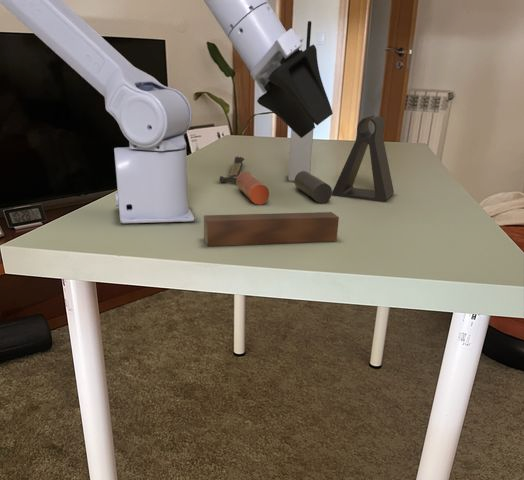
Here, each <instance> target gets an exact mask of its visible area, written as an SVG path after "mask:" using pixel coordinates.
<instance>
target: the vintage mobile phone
mask: <svg viewBox="0 0 524 480" xmlns="http://www.w3.org/2000/svg"><path fill="white" fill-rule="evenodd" d="M311 35H312V21H311V20H308V21H307V28H306V45H305V50H306V49H307V48H308V47H310V46H311V38H312V37H311ZM290 131H291V132H290V143H289V144H290V145H289V146H290V147H289V161H288V182H291V183H295V177H296V175H297V174H298V173H299V172H301V171H306V172H308V173H310V174H311V167H312V165H311V164H312V151H313V140H314V129H313V130H312V131H310V132H309V133H308V134H306V135H305V136H304V137H302V138H301V137H299V136H298V135H297V134H296V133H295V132H294V131H293V130H292V129H291V128H290Z"/></svg>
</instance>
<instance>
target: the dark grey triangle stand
mask: <svg viewBox="0 0 524 480" xmlns="http://www.w3.org/2000/svg"><path fill="white" fill-rule="evenodd" d="M370 121H371V122H372V124H373V125H374V130H373V132H372V131H370V128H369V123H370ZM385 127H386V122H385V119H384V118H383V117H382V116H381V115H378V116H375V115H371V116H367V117H364V118H362V119H361V120H360V121H359V122H358V123H357V127H356V131H357V133H356V138H355V142H354V143H353V146H352V147H351V150H350V152H349V155H348V157H347V159H346V161H345V164H344V166H343V168H342V170H341V172H340V175H339V177H338V179H337V181H336V183H335V185H334V187H333V190H332V196H335V197H336V196H338V197H345V198H353V199H360V200H368V201H376V202H384V203H385V202H387V200H388V199H390V198H391V197H392V196H393V195H394V193H395V190H394V186H393V179H392V176H391V175H392V174H391V171H390V165H389V160H388V155H387V149H386V145H385V141H384V131H385ZM368 146H369V155H370V164H371V171H372V180H373V189H367V188H361V187H360V188H359V187H354V183H355V181H356V178H357V175H358V173H359V170H360V167H361V165H362V162H363V160H364V157H365V154H366V152H367V148H368Z"/></svg>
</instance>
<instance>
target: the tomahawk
mask: <svg viewBox="0 0 524 480" xmlns="http://www.w3.org/2000/svg"><path fill="white" fill-rule="evenodd" d="M243 161H245V158H244V157H243V156H235V157H234V161H233V164H232V167H231V170H230V174H229V176H227V177H224V176H223V175H222V176H221V175H220V176H219V182H223V183H224V182H229V183H230V182H231V183H235V184H236V179H237V176H238V175H239V174H240V171H241V168H242V166H243Z"/></svg>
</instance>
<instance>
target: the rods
mask: <svg viewBox="0 0 524 480" xmlns="http://www.w3.org/2000/svg"><path fill="white" fill-rule="evenodd" d="M235 184H236V186H237V188H238V189H239V190H240V191H241V192H242V193H243V194H244V195H245V196H246V197H247V198H248V199H249V200H250V201H251V202H252V203H253V204H255V205H258V206H259V205H263V204H265V203H266V202H267V201H268V200H269V198H270V190H269V188H268V187H267V186H266V185H265V184H264V183H262V182H261V181H260V179H258V178H257V177H256V176H255V175H253V174H252V173H251V172H249V171H242V172H239V173H238V176H237V179H236V183H235ZM294 185H295V187H296V188H297V189H298V190H300V191H301V192H303V193H304V194H305V195H307V196H308V197H310V198H311V199H313V200H314V201H315V202H317V203H319V204H325V203H327V202H328V201H330V199H331V197H332V196H333V194H332V192H333V190H332V186H330V184H328V183H327V182H325V181H323V180H321V179H320V178H318V177H316V176H315V175H313V174H312V173H311V172H310V173H308V172H306V171H301V172H299V173H298V174H297V175H296V177H295V182H294Z"/></svg>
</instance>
